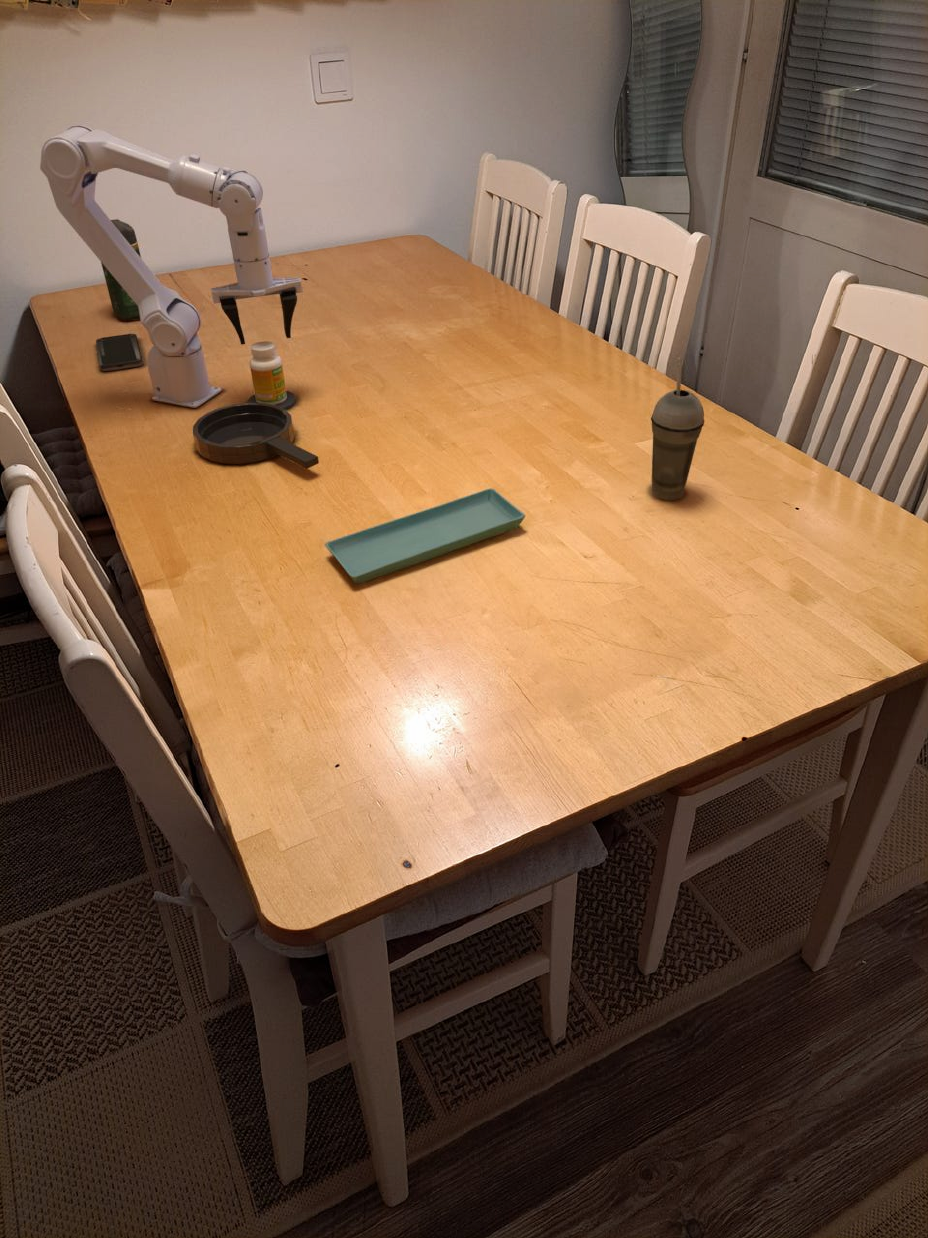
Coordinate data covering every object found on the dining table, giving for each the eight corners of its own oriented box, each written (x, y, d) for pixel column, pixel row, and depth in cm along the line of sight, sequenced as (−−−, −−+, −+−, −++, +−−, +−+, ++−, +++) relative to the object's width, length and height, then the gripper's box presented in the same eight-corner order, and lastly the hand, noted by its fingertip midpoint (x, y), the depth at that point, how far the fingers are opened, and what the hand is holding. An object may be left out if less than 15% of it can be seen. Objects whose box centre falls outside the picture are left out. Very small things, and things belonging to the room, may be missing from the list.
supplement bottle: (280, 407, 155) (272, 352, 149) (251, 405, 156) (241, 350, 150) (291, 394, 160) (283, 340, 154) (262, 391, 160) (253, 338, 154)
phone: (135, 332, 182) (142, 359, 171) (137, 338, 183) (143, 365, 172) (95, 338, 180) (99, 366, 169) (96, 344, 181) (100, 372, 170)
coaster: (238, 408, 157) (237, 405, 156) (264, 389, 163) (264, 386, 162) (279, 416, 154) (279, 413, 154) (305, 396, 160) (304, 393, 160)
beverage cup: (662, 510, 128) (681, 376, 116) (632, 487, 133) (646, 356, 121) (703, 497, 131) (725, 364, 118) (671, 475, 136) (690, 346, 123)
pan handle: (266, 448, 141) (264, 441, 140) (278, 442, 142) (277, 435, 142) (306, 469, 136) (305, 462, 135) (319, 463, 137) (318, 456, 136)
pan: (176, 454, 144) (172, 436, 142) (233, 414, 155) (230, 396, 153) (260, 472, 139) (256, 453, 137) (312, 429, 150) (309, 411, 148)
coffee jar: (158, 317, 192) (136, 225, 181) (120, 324, 189) (96, 231, 178) (147, 303, 199) (126, 213, 187) (110, 310, 196) (86, 219, 185)
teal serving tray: (353, 590, 115) (351, 575, 113) (325, 555, 121) (322, 540, 119) (526, 531, 125) (527, 515, 123) (492, 501, 131) (492, 486, 129)
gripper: (206, 269, 141) (224, 353, 149) (299, 258, 144) (311, 341, 152) (204, 256, 146) (220, 338, 155) (293, 246, 149) (305, 327, 158)
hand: (265, 339), depth 154 cm, fingers open, 7 cm apart
